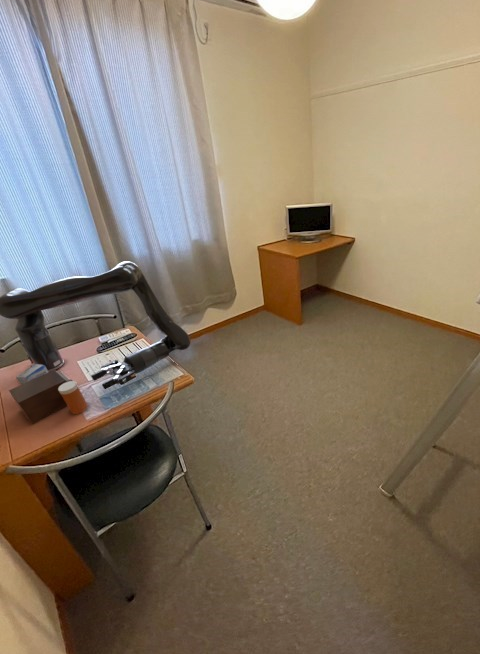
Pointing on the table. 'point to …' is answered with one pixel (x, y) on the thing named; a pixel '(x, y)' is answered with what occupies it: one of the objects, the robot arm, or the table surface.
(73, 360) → the table surface
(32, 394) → the dark brown box
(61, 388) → the pill bottle
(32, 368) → the medicine box
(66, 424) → the table surface
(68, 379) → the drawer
